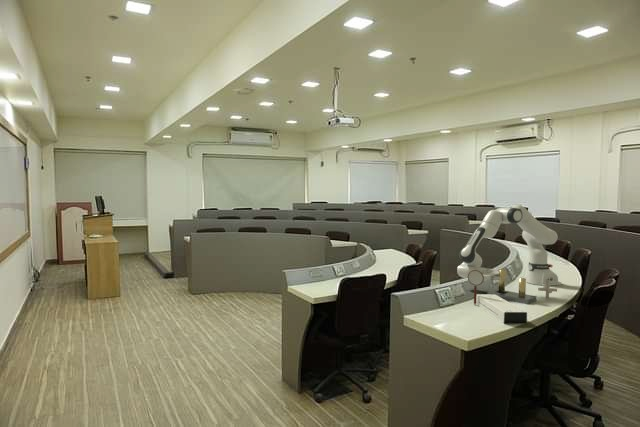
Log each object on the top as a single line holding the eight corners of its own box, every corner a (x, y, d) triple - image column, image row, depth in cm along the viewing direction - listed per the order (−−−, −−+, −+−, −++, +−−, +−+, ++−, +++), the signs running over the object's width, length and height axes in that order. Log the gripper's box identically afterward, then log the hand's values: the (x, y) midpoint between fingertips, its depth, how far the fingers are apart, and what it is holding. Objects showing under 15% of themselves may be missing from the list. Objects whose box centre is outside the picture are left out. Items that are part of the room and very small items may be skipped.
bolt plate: (487, 295, 252) (488, 275, 251) (496, 292, 260) (497, 272, 259) (528, 304, 234) (529, 281, 233) (536, 300, 242) (537, 278, 241)
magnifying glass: (466, 304, 233) (467, 269, 231) (467, 303, 234) (468, 269, 233) (482, 306, 228) (483, 271, 227) (483, 306, 229) (484, 270, 228)
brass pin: (502, 289, 253) (503, 269, 252) (506, 291, 249) (506, 270, 248) (497, 289, 252) (498, 269, 252) (500, 291, 249) (501, 270, 248)
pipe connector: (559, 300, 242) (560, 283, 242) (541, 299, 244) (541, 282, 244) (553, 296, 252) (553, 280, 251) (535, 295, 254) (536, 279, 253)
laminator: (475, 305, 233) (476, 294, 232) (497, 305, 233) (497, 294, 233) (504, 324, 199) (504, 312, 198) (529, 324, 199) (529, 312, 199)
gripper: (473, 271, 253) (495, 275, 243) (489, 267, 267) (510, 271, 256) (473, 281, 253) (495, 285, 243) (489, 277, 267) (510, 281, 257)
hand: (503, 278), depth 250 cm, fingers closed on brass pin, 4 cm apart
